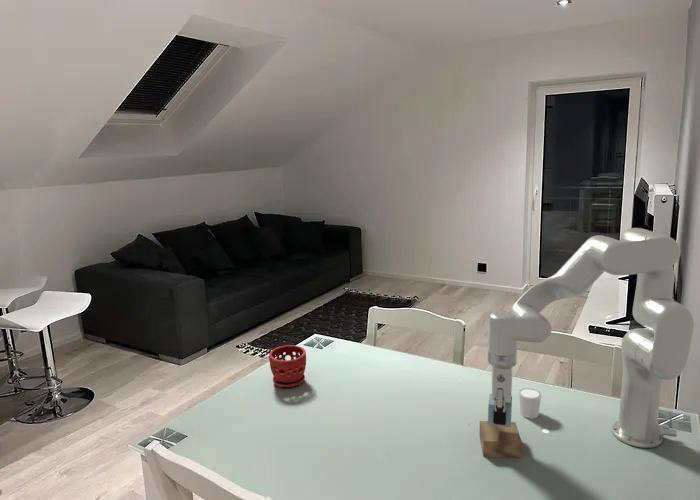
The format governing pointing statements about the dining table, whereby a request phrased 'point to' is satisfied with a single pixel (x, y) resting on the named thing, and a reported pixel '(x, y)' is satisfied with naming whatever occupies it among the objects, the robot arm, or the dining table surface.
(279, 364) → the plant pot
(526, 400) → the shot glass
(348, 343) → the dining table surface
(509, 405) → the slate cube
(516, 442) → the walnut block
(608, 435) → the dining table surface
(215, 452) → the dining table surface
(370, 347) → the dining table surface
